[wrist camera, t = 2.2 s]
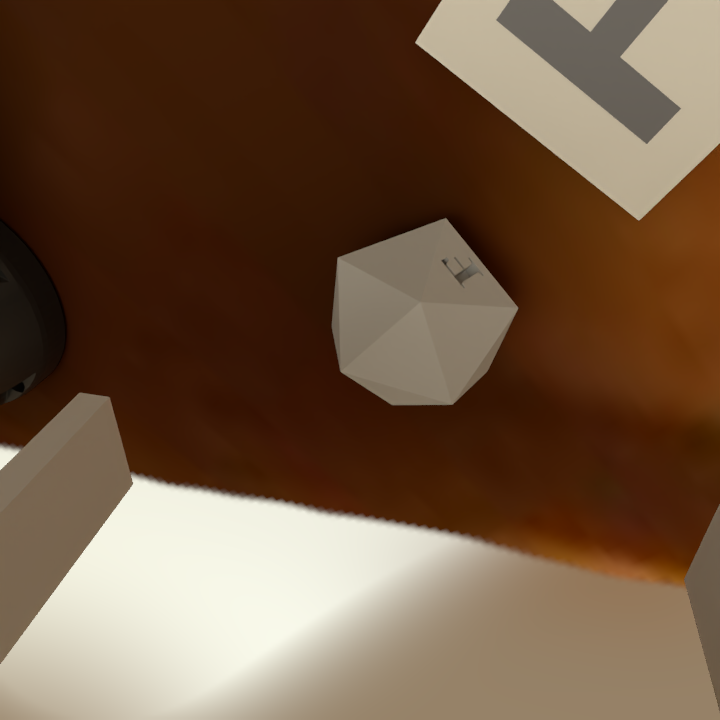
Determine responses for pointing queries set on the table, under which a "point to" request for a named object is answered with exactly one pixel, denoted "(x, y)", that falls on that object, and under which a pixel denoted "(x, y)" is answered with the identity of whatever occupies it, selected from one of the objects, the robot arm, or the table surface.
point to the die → (418, 316)
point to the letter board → (595, 82)
